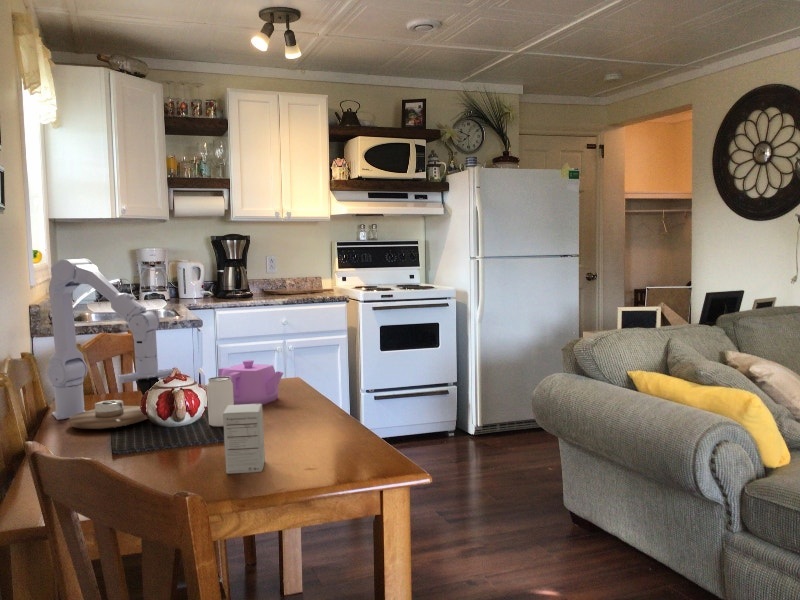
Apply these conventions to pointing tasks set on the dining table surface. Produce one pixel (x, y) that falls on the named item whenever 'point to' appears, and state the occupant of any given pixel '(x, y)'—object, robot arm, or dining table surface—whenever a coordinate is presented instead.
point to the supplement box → (244, 438)
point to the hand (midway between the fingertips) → (149, 405)
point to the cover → (109, 409)
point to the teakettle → (253, 382)
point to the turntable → (107, 419)
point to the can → (219, 399)
